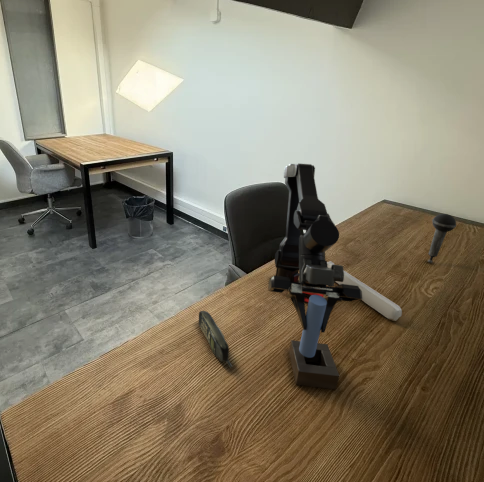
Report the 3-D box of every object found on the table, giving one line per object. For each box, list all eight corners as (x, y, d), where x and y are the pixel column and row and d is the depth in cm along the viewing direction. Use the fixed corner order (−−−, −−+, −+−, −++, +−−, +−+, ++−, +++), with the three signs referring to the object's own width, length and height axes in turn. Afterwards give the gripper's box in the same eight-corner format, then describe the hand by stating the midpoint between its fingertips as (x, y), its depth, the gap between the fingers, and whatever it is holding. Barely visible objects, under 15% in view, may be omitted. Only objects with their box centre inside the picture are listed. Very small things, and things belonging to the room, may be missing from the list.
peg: (296, 351, 67) (306, 299, 62) (303, 342, 70) (313, 292, 65) (311, 360, 65) (323, 308, 60) (317, 351, 68) (329, 300, 63)
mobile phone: (196, 310, 79) (224, 354, 66) (207, 307, 80) (236, 350, 67) (196, 325, 81) (223, 371, 68) (206, 322, 82) (234, 367, 69)
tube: (409, 308, 84) (335, 261, 105) (399, 308, 81) (325, 260, 102) (400, 324, 85) (329, 275, 106) (390, 325, 83) (319, 274, 103)
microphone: (421, 265, 113) (438, 216, 106) (416, 256, 119) (432, 209, 112) (443, 269, 110) (462, 220, 104) (437, 260, 116) (455, 212, 110)
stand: (288, 352, 73) (291, 340, 72) (324, 356, 73) (327, 344, 71) (295, 384, 66) (298, 371, 64) (335, 389, 65) (339, 376, 64)
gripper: (276, 243, 64) (273, 323, 58) (370, 254, 62) (378, 338, 55) (269, 256, 74) (266, 325, 68) (349, 265, 72) (354, 337, 65)
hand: (313, 331), depth 64 cm, fingers closed on peg, 3 cm apart
